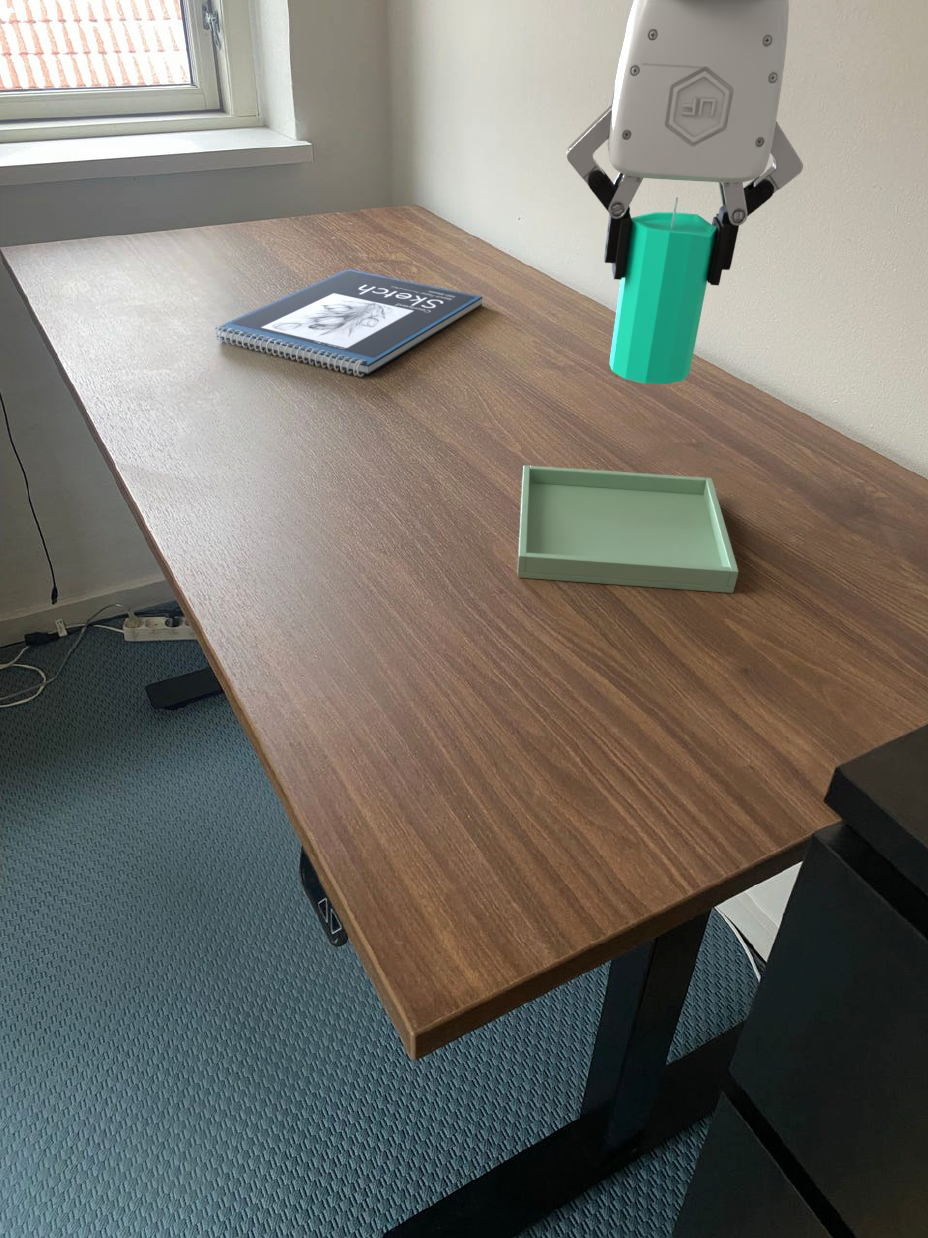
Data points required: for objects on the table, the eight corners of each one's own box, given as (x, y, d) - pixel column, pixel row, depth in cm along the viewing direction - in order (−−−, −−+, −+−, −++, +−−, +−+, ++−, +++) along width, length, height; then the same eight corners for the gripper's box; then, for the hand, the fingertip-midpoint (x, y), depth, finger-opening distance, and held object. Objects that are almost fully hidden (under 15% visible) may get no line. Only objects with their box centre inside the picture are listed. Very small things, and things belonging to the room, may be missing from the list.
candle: (628, 387, 67) (655, 210, 59) (597, 356, 71) (618, 187, 64) (703, 380, 68) (738, 207, 61) (668, 350, 73) (696, 185, 65)
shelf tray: (707, 497, 85) (712, 477, 84) (733, 593, 73) (738, 571, 72) (521, 485, 86) (523, 464, 85) (517, 577, 74) (518, 555, 73)
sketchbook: (482, 306, 125) (483, 290, 124) (363, 382, 104) (363, 364, 103) (347, 277, 133) (347, 262, 131) (211, 342, 111) (209, 325, 110)
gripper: (570, -40, 52) (542, 286, 63) (881, -25, 51) (798, 301, 62) (567, -44, 58) (542, 254, 69) (846, -31, 57) (776, 267, 68)
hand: (664, 273), depth 65 cm, fingers closed on candle, 5 cm apart
